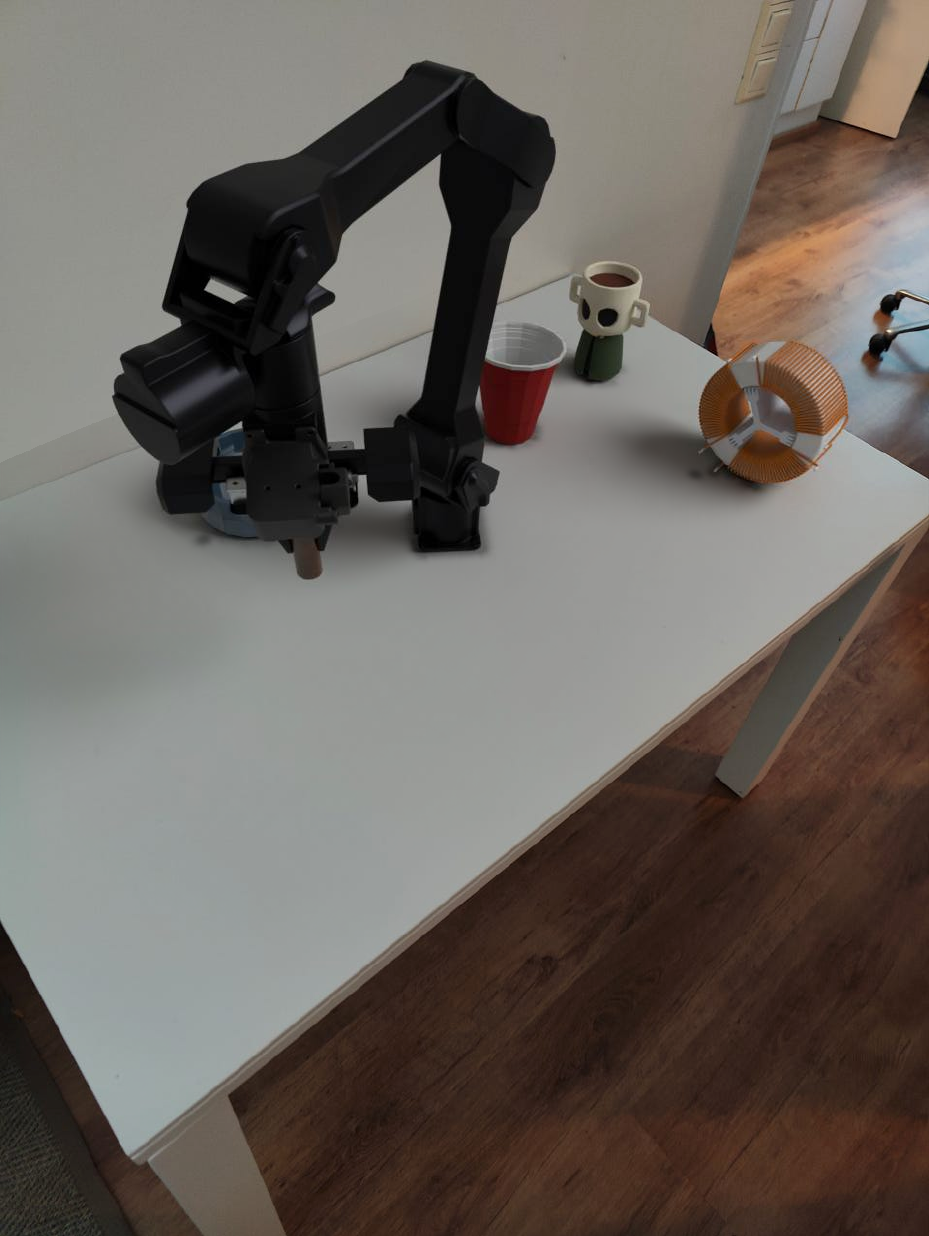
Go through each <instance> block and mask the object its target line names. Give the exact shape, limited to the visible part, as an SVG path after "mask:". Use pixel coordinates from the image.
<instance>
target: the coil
mask: <svg viewBox="0 0 929 1236" xmlns="http://www.w3.org/2000/svg"><path fill="white" fill-rule="evenodd" d="M725 362H726V363H725V364H724V365H723V366H721V367H720V368H718V370H717V371H716V372H715V373H713V374H712V376H710V378H709V379H708V381H707V382H706V384H705V385H704V388H703V390H702V392H701V394H700V398H699V403H698V404H699V405H698V419H699V420H698V422H699V426H700V430H701V431H700V432H701V434H702V437H703V440H705V441H706V440H707V445H705V446H703V447H702V448H701V449H699V451H698V454H701V453H702V452H703V451H704V450H706V449H708V448H709V447H710V448H711V449H712V450H713V451H712V452H714V454H715V456H717V457H718V458H719V459H720V460H721V461H722V462H721V464H719V465H718V466H717V467H716V468H715V469H714V470H713V472H714V473H716V472H717V471H719V470H720V469H721V468H722V467H723V466H724V465H726V466H727V467H726V468H727V470H729V471H730V472H733V474H736V476H739V477H740V478H742V477H743V479H747V480H748V481H751V482H754V483H756V482H757V483H761V484H770V485H771V484H779V483H780V484H782V483H786V482H790V481H793V480H795V479H797V478H800V477H801V476H803V475H804V474H806V473H807V472H808V471H810V470H811V469H812V468H813V467H814V466H815V467H814V469H813V472H816V471H817V470H818V469H819V467H820V465H819V464H818V461H820V459H822V458H823V456H824V455H826V453H827V452H828V451H830V449H831V448H832V447H833V443H834V441H835V440H836V439H837V437H838V436H839V435H840V434H841V432H842V431H843V430H844V428H845V427H846V425H847V424H848V423H849V419H850V415H849V413H848V412H849V411H848V410H849V407H848V405H849V402H848V401H849V399H848V395H847V390H846V387H845V383H843V379H842V377H841V375H839V374H840V373H839V372H837V369H836V368H835V365H832V362H831V361H829V359H826V356H823V354H822V353H820V351H818V350H817V351H816V349H815V348H813V347H812V346H809V345H808V344H805V343H801V342H800V341H798V342H797V341H796V340H792V339H790V340H789V341H767V342H764V343H760V344H758V343H757V342H756V341H751V342H749V343H748V344H745V345H744V346H743V347H742V348H740V349H739V350H738V351H737V352H736V353H734V354H733V355H731V357H730V358H728V359H727V360H726V361H725ZM751 414H752V416H751ZM845 416H846V418H845Z"/></svg>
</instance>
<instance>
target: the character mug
mask: <svg viewBox="0 0 929 1236" xmlns="http://www.w3.org/2000/svg"><path fill="white" fill-rule="evenodd" d="M642 285H643V275H642V273H641V272H640V270H638V268H636V267H634V266H632V265H630V264H628V263H625V262H620V261H612V260H611V261H610V260H604V261H596V262H594V263H591V264H589V265H587V266H586V268H585V269H584V270H583V273H582V276H579V275H573V276H572V277H571V280H570V286H569V294H568V298H569V300H570V301H571V302H572V303H575V304H577V310H576V314H577V321H578V323H579V325H580V326H581V327H582V330H581V332H580V333H581V334H580V337H579V341H578V344H577V346H576V350H575V353H574V358H573V361H572V364H573V369H574V371H576V373H578V375H580V376H583V374H584V369H585V370H586V371H587V372H588V374H587V375H588V376H587V379H590V380H595V381H596V380H597V381H605V380H611V379H613V378H614V377H616V376H617V375H618V374H619V373H620V372H621V370H622V368H623V359H624V338H625V337H624V334H625V333H626V332H628V331H629V330H630V329H631V328H632V326H635V327H637V328H645V327H646V325H647V322H648V319H649V318H648V317H649V314H650V313H649V312H650V309H651V308H650V307H651V306H650V302H648V300H647V301H646V300H644V299H641V298H640V294H641V290H642ZM579 286H580V290H579V294H578V289H579ZM637 309H640V313H639V314H640V315H639V317H637V316H636V314H637Z"/></svg>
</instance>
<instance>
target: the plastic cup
mask: <svg viewBox="0 0 929 1236" xmlns="http://www.w3.org/2000/svg"><path fill="white" fill-rule="evenodd" d="M567 347H568V346H567V343H566V340H565V339H564V338H563V337H561V335H559V333H558V332H556V331H555V330H552V329H551V328H549V327H547V326H544V325H542V324H538V323H534V322H530V321H527V320H517V319H501V320H493V324H492V329H491V333H490V338H489V343H488V347H487V352H486V356H485V361H484V366H483V370H482V375H481V379H480V384H479V394H480V403H481V410H482V412H483V421H484V429H485V431H486V434H487V435H488V437H489V438H490V439H491V440H493V441H495V442H496V443H499V444H503V445H513V446H514V445H519V444H523V443H525V442H527V441H528V440H530V439H531V437H532V436H533V434H534V432H535V430H536V427H537V425H538V421H539V418H540V414H541V413H542V411H543V408H544V404H545V401H546V398H547V395H548V392H549V390H550V389H549V388H550V386H551V383H552V380H553V377H554V375H555V373H556V371H557V368H558V366H559V364H560V363H561V362H562V360H563V358H565V355H566V354H567V351H568V348H567Z"/></svg>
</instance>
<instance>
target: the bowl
mask: <svg viewBox="0 0 929 1236" xmlns="http://www.w3.org/2000/svg"><path fill="white" fill-rule="evenodd" d="M243 434H244V433H243V429H242V427H240V428H236V429H231V430H227V431H226V432H224V433H222V434H221V435H219V436H218V437H217V438H218V440H219V444H220V448H221V454H220V455H219V456H218V457H220V456H233V454H234V453H238V452H243V448H244V443H245V441H244V437H243ZM213 492H214V495H215V504H214V505H213V506H212V507H211V508H210V509H209V510H208V511H207V512H206V513H200V516H201V517H202V518H203V520H205V522H207V523H208V525H210V526H211V527H212V528H214V529H216V530H218V531H220V532H222V533H225V534H227V535H231V536H233V535H234V536H236V537H237V536H238V537H243V538H255V537H257V536H256V534H255V531H254V529H253V526H252V524H251V521H250V519H249V516H235V515H233V514H232V513H231V512H230V495H229V493H228V492H227V491H226V483H214V484H213ZM257 538H258V537H257Z"/></svg>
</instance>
